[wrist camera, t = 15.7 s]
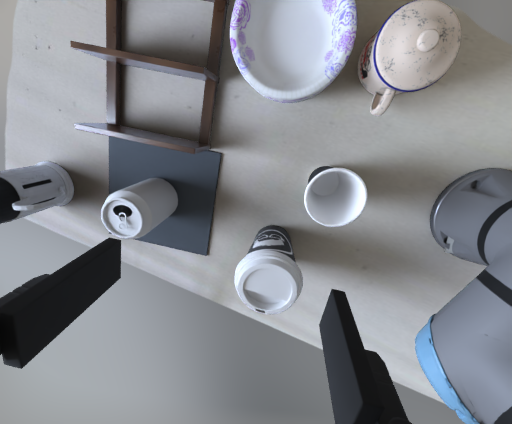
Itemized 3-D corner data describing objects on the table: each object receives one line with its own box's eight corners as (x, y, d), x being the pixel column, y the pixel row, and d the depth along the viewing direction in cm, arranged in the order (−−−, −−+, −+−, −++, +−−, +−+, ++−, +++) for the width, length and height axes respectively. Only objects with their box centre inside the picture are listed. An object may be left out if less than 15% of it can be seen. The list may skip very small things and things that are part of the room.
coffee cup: (237, 244, 49) (218, 292, 35) (268, 207, 46) (259, 243, 32) (277, 272, 50) (273, 331, 36) (309, 238, 47) (319, 287, 33)
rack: (229, -2, 37) (215, -34, 29) (210, 149, 44) (194, 154, 36) (109, -24, 37) (65, -61, 30) (110, 128, 45) (74, 128, 37)
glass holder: (25, 160, 48) (-82, 175, 34) (96, 163, 47) (14, 179, 33) (37, 204, 51) (-58, 235, 37) (104, 208, 50) (32, 242, 36)
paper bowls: (222, 21, 38) (206, -4, 30) (322, -39, 34) (332, -85, 27) (264, 121, 41) (259, 121, 34) (358, 76, 38) (376, 64, 30)
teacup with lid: (373, 17, 36) (411, -30, 25) (435, 39, 36) (501, 1, 25) (336, 106, 40) (355, 99, 29) (392, 126, 40) (432, 127, 29)
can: (178, 177, 46) (143, 195, 34) (181, 217, 48) (149, 245, 37) (138, 175, 46) (91, 192, 35) (143, 214, 49) (100, 241, 38)
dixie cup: (346, 153, 42) (366, 163, 31) (349, 200, 44) (368, 223, 34) (297, 161, 43) (301, 172, 33) (302, 206, 45) (307, 230, 35)
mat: (221, 153, 44) (220, 153, 44) (206, 254, 51) (206, 255, 50) (110, 129, 45) (108, 129, 44) (110, 232, 51) (108, 233, 51)
